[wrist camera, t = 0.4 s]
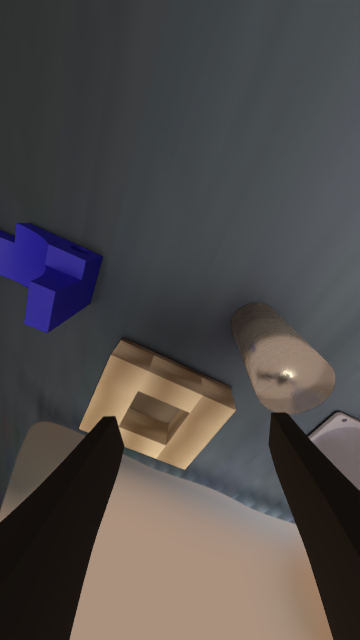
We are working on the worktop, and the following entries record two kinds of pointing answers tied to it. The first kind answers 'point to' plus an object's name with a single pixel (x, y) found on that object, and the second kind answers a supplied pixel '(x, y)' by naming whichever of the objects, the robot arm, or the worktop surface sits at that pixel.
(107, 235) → the worktop surface
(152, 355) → the pocket block
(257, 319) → the pin
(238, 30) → the worktop surface
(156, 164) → the worktop surface
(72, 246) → the blue curved cradle
